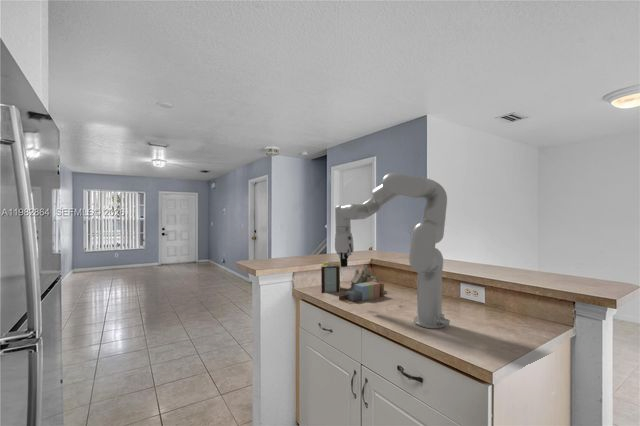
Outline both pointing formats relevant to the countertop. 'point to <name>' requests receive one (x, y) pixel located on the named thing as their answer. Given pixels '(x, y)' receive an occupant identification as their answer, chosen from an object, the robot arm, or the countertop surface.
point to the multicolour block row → (342, 298)
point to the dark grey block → (353, 296)
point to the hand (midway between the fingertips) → (344, 266)
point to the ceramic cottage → (363, 277)
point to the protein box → (330, 277)
